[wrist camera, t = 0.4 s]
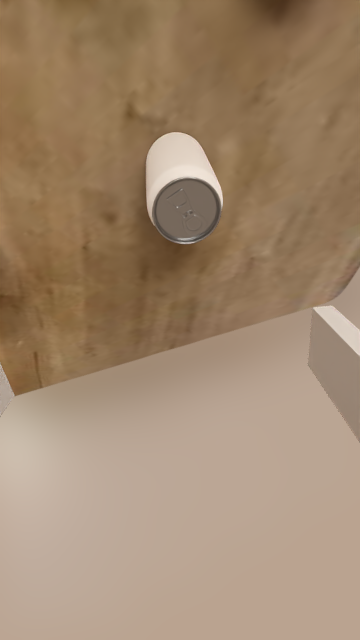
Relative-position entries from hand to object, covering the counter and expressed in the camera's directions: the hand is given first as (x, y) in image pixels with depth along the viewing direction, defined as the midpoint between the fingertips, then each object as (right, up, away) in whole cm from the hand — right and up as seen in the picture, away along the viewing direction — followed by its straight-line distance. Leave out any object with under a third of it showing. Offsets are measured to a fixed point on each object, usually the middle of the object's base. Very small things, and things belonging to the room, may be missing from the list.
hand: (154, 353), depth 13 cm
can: (+1, +18, +21) cm, 28 cm away
